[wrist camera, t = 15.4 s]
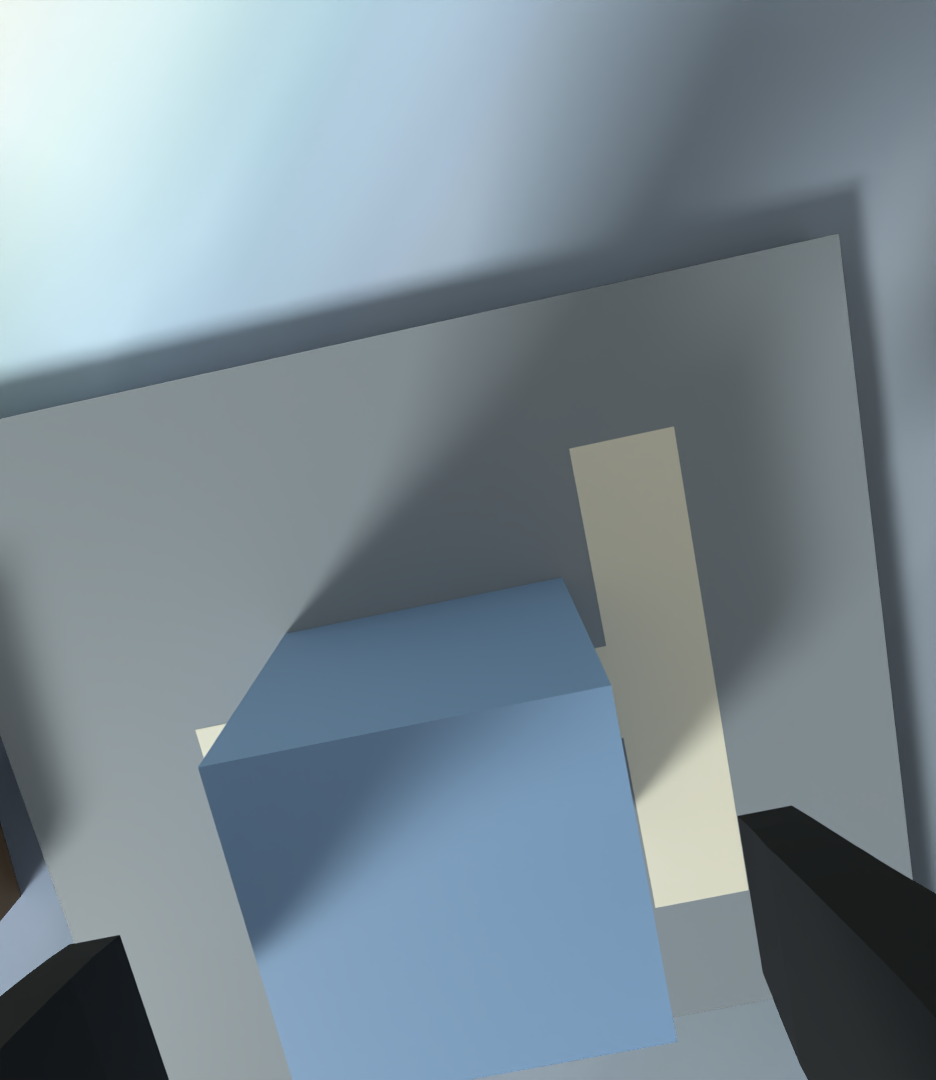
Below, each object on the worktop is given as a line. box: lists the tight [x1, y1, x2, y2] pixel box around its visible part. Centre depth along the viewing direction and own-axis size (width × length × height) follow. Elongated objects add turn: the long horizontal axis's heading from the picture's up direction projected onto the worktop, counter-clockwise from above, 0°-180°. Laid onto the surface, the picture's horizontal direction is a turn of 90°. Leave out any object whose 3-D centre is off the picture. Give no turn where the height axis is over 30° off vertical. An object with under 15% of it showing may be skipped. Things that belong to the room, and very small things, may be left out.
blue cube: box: [198, 577, 677, 1080], centre depth 13 cm, size 5×5×5 cm
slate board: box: [0, 234, 913, 1080], centre depth 16 cm, size 16×14×1 cm
